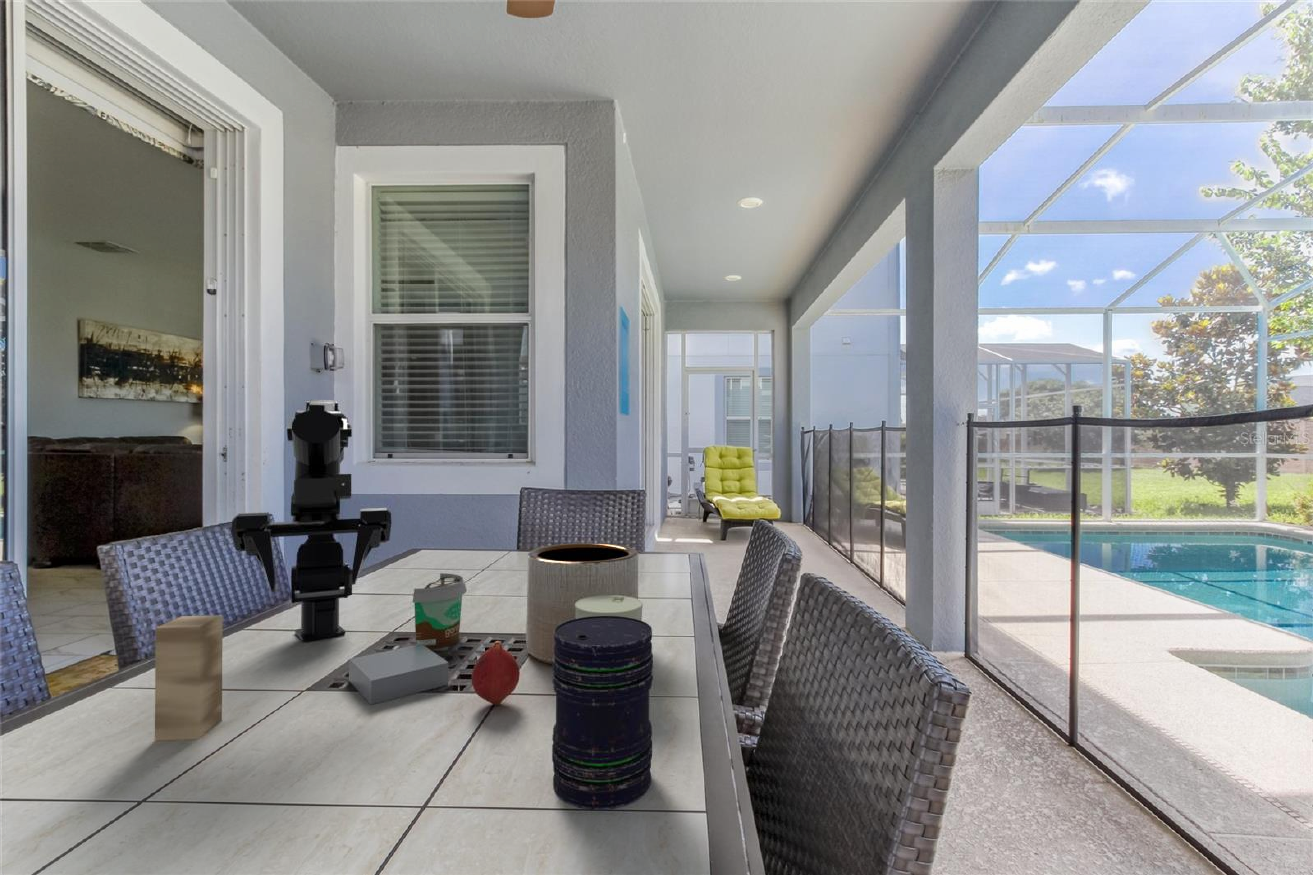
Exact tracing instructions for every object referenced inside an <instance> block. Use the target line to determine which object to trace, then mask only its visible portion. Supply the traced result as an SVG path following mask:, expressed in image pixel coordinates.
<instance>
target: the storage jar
mask: <svg viewBox="0 0 1313 875" xmlns="http://www.w3.org/2000/svg"><path fill="white" fill-rule="evenodd" d="M652 639H653V628H652V626H651V625H650V624H649V623H647V622H645V621H643V620H642V621H641V620H637V619H633V618H628V617H620V616H592V617H583V618H578V619H573V620H570V621H567V622H564V623H562V624H560V625H559V626H557V627H556V628H555V630H554V641H555V645H554V656H553V665H552V671H553V678H552V684H553V690H554V693H555V724H554V725H553V728H552V746H551V758H552V759H551V761H552V763H553V764H552V768H553V769H552V770H553V778H552V787H553V791H554V793H555V794H556V796H557V797H558V798H559V799H560V800H561V801H563V802H564V803H566V804H568V805H571V806H572V807H576V808H580V809H585V810H594V811H595V810H596V811H598V810H599V811H600V810H601V811H603V810H613V809H617V808H621V807H625V806H627V805H631V804H633V803H635V802H637V801H638V800H640V799H641V798H642V797H644V796H645V795H646V793H647V792H648V791H649V790H650V788H651V785H652V784H651V783H652V772H651V767H652V758H653V740H652V736H653V735H652V734H653V731H652V730H653V729H652V722H651V720H650V690H651V688H652V685H653V680H654V675H653V667H654V666H653V665H654V664H653V663H654V660H653V659H654V655H653V643H652Z"/></svg>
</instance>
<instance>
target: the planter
mask: <svg viewBox="0 0 1313 875" xmlns="http://www.w3.org/2000/svg"><path fill="white" fill-rule="evenodd" d="M526 583H527V590H526V591H527V592H526V624H525V625H526V626H525V628H526V629H525V630H526V632H525V640H526V641H525V643H526V650H527V652H528V653H529V654H530V655H531V656H532V657H533V658H535V659H536V660H538V661H540V662H543V663H545V664H549V665H552V666H553V656H554V645H555V641H554V630H555V628H556V627H557V626H559V625H560V624H562V623H564V622H567V621H570V620H573V619H576V609H575V604H576V602H577V601H579V600H581V599H584V598H587V597H592V596H600V595H620V596H628V597H633V598H636V599H638V600H639V552H638V550H637V549H634V548H632V547H630V546H625V545H619V544H613V543H602V542H601V543H599V542H598V543H597V542H589V543H588V542H580V543H579V542H578V543H576V542H574V543H562V544H554V545H546V546H541V547H538V548H534V549H533V550H531V551H529V552H528V553H527V582H526Z"/></svg>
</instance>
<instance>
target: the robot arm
mask: <svg viewBox="0 0 1313 875" xmlns="http://www.w3.org/2000/svg"><path fill="white" fill-rule="evenodd" d="M305 405H306V406H305V407H306V408H305V410H296V411H295V413H294V417H289V421H288V425H287V429H286V435H287V441H288V442H292V448H293V454H294V458H295V464H294V465H295V467H294V480H293V492H292V494H291V497H290V499H291V500H290V516H291V517H292V521H276V522H271V518H270V517H271V516H270V513H269V512H250V513H244V512H243V513H238V514H236V516H234V518H232V520H231V521H232V522H231V530H230V532H231V535H232V536H231V537H232V539H233V544H234V547H235V548H234V549H235V551H239V552H245V553H246V555H247V556H250V557H256V559H257V560H258V562H259V564H260V566H261V567H262V569H263V572H264V574H265V577H266V581H267V584H268V587H269V589H270V593H274V592H276V585H277V582H276V572H275V571H276V570H275V561H274V560H275V557H274V549H273V545H272V538H281V537H285V538H286V537H300V536H301V537H302V536H303V537H304V536H307V539H306V540H305V541H304V543H301V544H300V545H299V547H298V548H297V552H296V563H295V565H292V566H291V572H290V573H291V574H290V590H291V591H290V593H291V594H290V595H291V596H290V597H291V604H295V603H301V604H300V605H301V606H300V624H301V625H300V628H298V629H295V630H294V633H295V634H296V636H297V637H298V638H299V639H300V640H301V641H302V642H309V641H314V640H315V641H316V640H320V639H325V638H330V637H337V636H340V635H341V636H342V635H345V634H346V630H345V629H344V628H343V627H342V626H340V599H348V597H350V596H353V585H354V586H355V585H356V584H357V581H358V578H359V576H360V573H361V571H362V568H363V566H364V563H365V561H366V560H367V557H368V556H369V554H370V553H371V551H372V550H373V549H375V548H379V547H380V546H381V544H383V543H386V542H389V541H390V538H391V536H390V535H391V532H392V512H391V511H390V510H389V509H388V508H387V507H376V508H375V507H373V508H372V507H371V508H370V507H369V508H360V512H359V518H345V519H343V518H341V519H340V514H341V500H349V499H350V500H351V499H352V473H341V463H342V462H343V461H344V460H345V449H344V448H348V447H349V438H352V436H353V433H352V432H353V430H352V428H353V427H352V425H351V424H350V423H349V419H348V417H346V416H345V414H343V413H342V411H340V410H339V401H335V400H333V399H332V400H331V399H310V400H307V401H306V403H305ZM355 533H357V535H356V542H355V549H354V555H353V556H354V557H353V563H352V568H350V565H349V561H344V549H343V546H342V545H341V543H340V541H337V539H336V538H335V534H338V535H339V534H355Z"/></svg>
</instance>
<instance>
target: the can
mask: <svg viewBox="0 0 1313 875" xmlns="http://www.w3.org/2000/svg"><path fill="white" fill-rule="evenodd" d="M643 605H644V604H643V601H641V600H640V599H639V598H638V599H636V598H633V597H628V596H620V595H600V596H592V597H587V598H584V599H581V600H579V601H577V602H576V604H575V609H576V619H578V618H583V617H592V616H620V617H628V618H633V619H637V620H641V621H643Z"/></svg>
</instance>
